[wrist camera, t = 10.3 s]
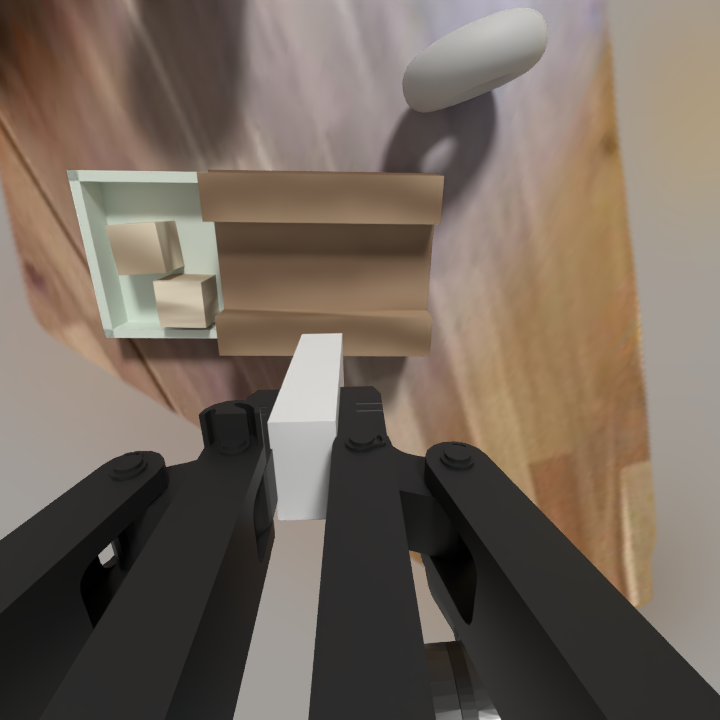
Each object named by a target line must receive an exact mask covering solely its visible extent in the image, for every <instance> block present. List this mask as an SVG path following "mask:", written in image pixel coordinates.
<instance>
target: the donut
mask: <svg viewBox="0 0 720 720" xmlns="http://www.w3.org/2000/svg"><path fill="white" fill-rule="evenodd" d="M547 42H548V31H547V27H546V24H545V20H544V18H543V17H542V16H541V14H540V13H539V12H538V11H536V10H534V9H532V8H512V9H508V10H503V11H500V12H497V13H494V14H491V15H488V16H485V17H483V18H480V19H478V20H476V21H474V22H471V23H469V24H467V25H465V26H463V27H461V28H459V29H457V30H455V31H453V32H451V33H449V34H447V35H445V36H444V37H442V38H440V39H439V40H437V41H436V42H434V43H432V44H431V45H429V46H428V47H427V48H425V49H424V50H423V51H422V52H420V53H419V54H418V55H417V56H416V57H415V58H414V60H413V61H412V62H411V63H410V64H409V66H408V67H407V69H406V71H405V73H404V77H403V83H402V84H403V93H404V97H405V100H406V102H407V104H408V105H409V106H410V107H411V108H412V109H414V110H416V111H417V112H432V111H437V110H441V109H444V108H447V107H451V106H453V105H456V104H459V103H462V102H464V101H467V100H470V99H472V98H475V97H477V96H479V95H482V94H484V93H486V92H489V91H491V90H493V89H495V88H498V87H500V86H502V85H504V84H506V83H508V82H510V81H512V80H514V79H515V78H517V77H519V76H521V75H522V74H524V73H526V72H527V71H529V70H530V69H531V68H532V67H533V66H534V65H535V64H536V63H537V62H538V61H539V60H540V59H541V57H542V55H543V53H544V52H545V49H546V45H547Z"/></svg>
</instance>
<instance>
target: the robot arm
mask: <svg viewBox="0 0 720 720" xmlns="http://www.w3.org/2000/svg"><path fill="white" fill-rule="evenodd" d="M199 419H200V425H201V430H202V435H203V441H204V449H203V451H202V452H201V454H200V456H199V457H198V459H197V460H195V461H191V462H188V463H183V464H178V465H174V466H169V467H166V466H165V461H164V458H163V457H162V456H161V455H160V454H159V453H156V452H153V451H136V452H133V453H132V452H130V453H126V454H124V455H122V456H119V457H116V458H114V459H112V460H110V461H109V462H107V463H105V464H103V465H102V466H101V467H99V468H98V469H97V470H95V471H94V472H92V473H91V474H90V475H88V476H87V477H86V478H84V479H83V480H82V481H80V482H79V483H77V484H76V485H75V486H74V487H72V488H71V489H70V490H68V491H67V492H66V493H64V494H63V495H61V496H60V497H58V498H57V499H56V500H54V501H53V502H52V503H50V504H49V505H48V506H46V507H45V508H44V509H42V510H41V511H40V512H38V513H37V514H36V515H34V516H33V517H32V518H30V519H29V520H27V521H26V522H25V523H23V524H22V525H20V526H19V527H18V528H17V529H15V530H14V531H12V532H11V533H10V534H8V535H7V536H6V537H4V538H3V539H1V540H0V720H233V717H234V712H235V708H236V704H237V699H238V694H239V691H240V686H241V681H242V677H243V673H244V669H245V664H246V660H247V656H248V651H249V647H250V643H251V638H252V634H253V630H254V625H255V621H256V617H257V612H258V607H259V604H260V599H261V594H262V590H263V586H264V581H265V577H266V573H267V569H268V564H269V560H270V556H271V551H272V547H273V542H274V538H275V530H274V521H273V517H274V513H275V509H276V505H277V512H278V520H279V521H281V520H320V519H326V524H325V535H324V547H323V558H322V570H321V581H320V593H319V604H318V615H317V627H316V638H315V650H314V662H313V674H312V684H311V685H312V686H311V696H310V707H309V719H308V720H720V695H719V694H718V693H717V692H716V691H715V690H714V689H713V688H712V687H711V686H710V685H709V684H708V683H707V682H706V681H705V680H704V679H703V678H702V677H701V676H700V675H699V673H698V672H697V671H696V670H695V669H694V668H693V667H692V666H691V665H690V664H689V663H688V662H687V661H686V660H685V659H684V658H683V657H682V656H681V655H680V654H679V653H678V652H677V651H676V650H675V649H674V648H673V647H672V646H671V645H670V644H669V643H668V642H667V640H666V639H665V638H664V637H662V635H661V634H660V633H659V632H658V631H657V630H656V629H655V628H654V627H653V626H652V625H651V624H650V623H649V622H648V621H647V620H646V619H645V618H644V617H643V616H642V615H641V614H640V613H639V612H638V611H637V610H636V609H635V607H634V606H633V605H632V604H631V603H630V602H629V601H628V600H627V599H626V598H625V597H624V596H623V595H622V594H621V593H620V592H619V591H618V590H617V589H616V588H615V587H614V586H613V585H612V584H611V583H610V582H609V581H608V580H607V579H606V578H605V577H604V576H603V574H602V573H601V572H600V571H599V570H598V569H597V568H596V567H595V566H594V565H593V564H592V563H591V562H590V561H589V560H588V559H587V558H586V557H585V556H584V555H583V554H582V553H581V552H580V551H579V550H578V549H577V548H576V547H575V546H574V545H573V544H572V543H571V541H570V540H569V539H568V538H567V537H566V536H565V535H564V534H563V533H562V532H561V531H560V530H559V529H558V528H557V527H556V526H555V525H554V524H553V523H552V522H551V521H550V520H549V519H548V518H547V517H546V516H545V515H544V514H543V513H542V512H541V511H540V510H539V508H538V507H537V506H536V505H535V504H534V503H533V502H532V501H531V500H530V499H529V498H528V497H527V496H526V495H525V494H524V493H523V492H522V491H521V490H520V489H519V488H518V487H517V486H516V485H515V484H514V483H513V482H512V481H511V480H510V479H509V478H508V477H507V475H506V474H505V473H504V472H503V471H502V470H501V469H500V468H499V467H498V466H497V465H496V464H495V463H494V462H493V461H492V460H491V459H490V458H489V457H488V456H487V455H486V454H485V453H484V452H482V451H481V450H480V449H478V448H476V447H474V446H471V445H469V444H466V443H462V442H442V443H439V444H436V445H433V446H432V447H431V448H430V449H428V450H427V453H426V456H425V457H421V456H415V455H411V454H407V453H404V452H402V451H400V450H398V449H396V448H395V447H393V446H392V444H391V441H390V439H389V437H388V436H387V433H386V427H385V420H384V413H383V407H382V400H381V394H380V393H379V392H378V391H377V390H376V389H375V388H374V387H373V386H366V387H344V371H343V341H342V333H331V334H302V336H301V338H300V341H299V343H298V346H297V348H296V351H295V353H294V356H293V359H292V361H291V364H290V366H289V369H288V371H287V374H286V376H285V379H284V382H283V384H282V387H281V389H280V390H258V391H256V392H255V393H253V394H252V395H251V396H249V397H248V398H247V399H246V401H243V400H234V401H225V402H222V403H218V404H214V405H212V406H210V407H208V408H206V409H205V410H203V411H202V412H201V413H200V414H199ZM110 543H111V544H112V548H113V551H114V554H115V555H114V556H113V557H112V558H111V559H110V560H109V561H108V562H106V563H105V564H104V565H102V564H101V563H100V560H99V557H98V555H99V554H100V552H102V551H103V550H104V549H105V548H106V547H107V546H108V545H109V544H110ZM409 550H411V551H415V552H418V553H421V557H422V561H423V563H424V565H425V570H426V576H427V581H428V586H429V589H430V592H431V595H432V597H433V598H434V600H435V602H436V604H437V605H438V607H439V609H440V610H441V612H442V614H443V615H444V617H445V619H446V620H447V622H448V624H449V625H450V627H451V629H452V631H453V632H454V636H455V640H456V641H451V642H439V643H428V644H424V642H423V636H422V629H421V623H420V617H419V611H418V605H417V598H416V592H415V586H414V580H413V574H412V567H411V561H410V555H409Z"/></svg>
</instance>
